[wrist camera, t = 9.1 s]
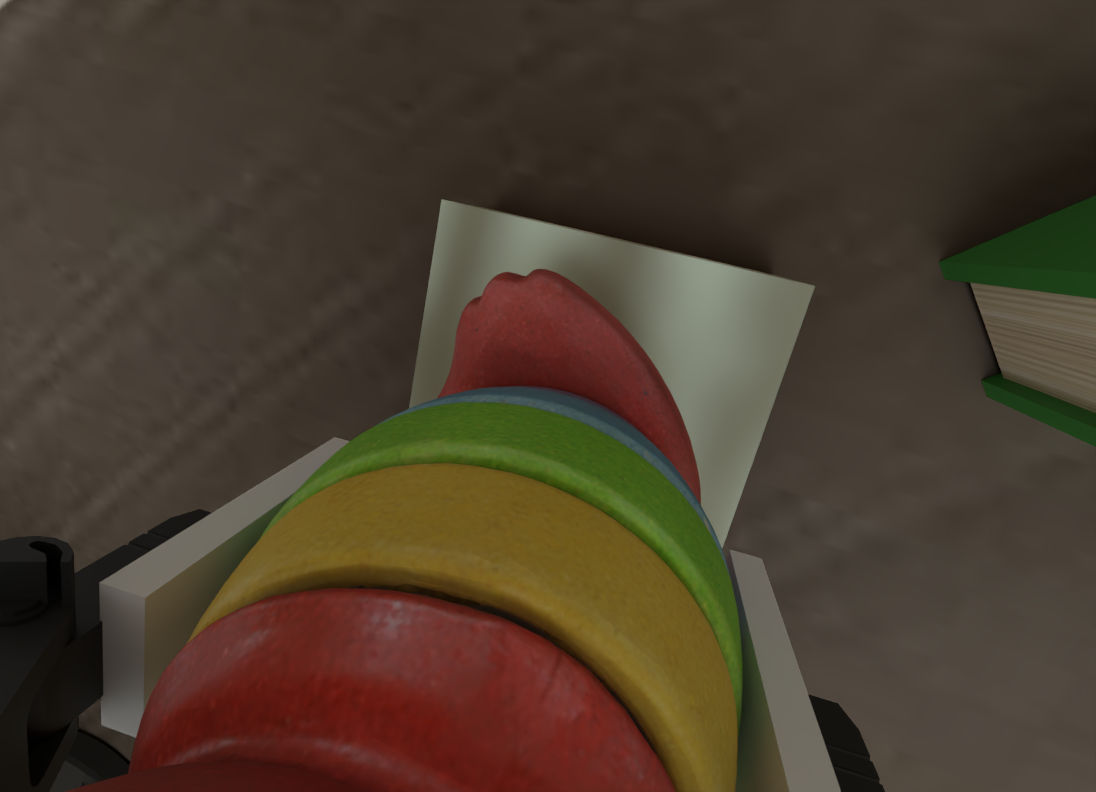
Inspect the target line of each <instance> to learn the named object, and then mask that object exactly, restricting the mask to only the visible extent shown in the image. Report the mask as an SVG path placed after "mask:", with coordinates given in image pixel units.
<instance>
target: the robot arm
mask: <svg viewBox="0 0 1096 792" xmlns="http://www.w3.org/2000/svg"><path fill="white" fill-rule="evenodd" d="M348 442H350V441H347V440H343V439H340V438H336V437H334V438H333V439H331V440H329V441H328V442H326V443H324V444H323V445H321V446H320V447H318V448H316V449H315V450H313V451H311V452H310V453H308V454H307V455H305V456H303V457H302V458H300V459H299V460H297V461H295V462H294V463H292V464H290V465H289V466H287V467H286V468H284V469H282V470H281V471H279V472H278V473H276V474H274V475H273V476H271V477H269V478H268V479H266V480H265V481H263V482H261V483H260V484H258V485H256V486H255V487H253V488H252V489H250V490H248V491H247V492H245V493H244V494H242V495H240V496H239V497H237V498H235V499H234V500H232V501H231V502H229V503H227V504H226V505H224V506H223V507H221V508H219V509H218V510H216V511H214V512H213V513H211V512H207V511H204V510H201V509H199V510H195V511H192V512H189V513H185V514H182V515H179V516H175V517H172V518H170V519H168V520H166V521H165V522H163V523H161V524H160V525H158V526H156V527H154V528H153V529H151V530H149V531H148V533H147V534H142V535H140V536H139V537H137V538H135V539H133V540H132V541H130V542H129V544H128V545H123V546H121V547H120V548H118V549H116V550H114V551H113V552H111V553H109V554H107V555H106V556H104V557H102V558H100V559H99V560H97V561H95V562H94V563H92V564H90V565H88V566H87V567H85V568H83V569H81V570H80V571H78V572H76V573H74V552H73V550H72V548H71V547H70V545H69V544H68V543H66V542H64V541H61V540H59V539H57V538H50V537H41V536H31V537H16V538H11V539H6V540H2V541H0V792H65V791H68V790H72V789H75V788H79V787H83V786H86V785H90V784H93V783H97V782H100V781H104V780H107V779H111V778H114V777H118V776H122V775H125V774H128V771H129V765H128V764H127V763H126V762H125V761H124V760H123V759H122V758H121V757H120V756H118V755H117V754H116V753H115V752H114V751H112V750H111V749H110V748H108V747H107V746H105V745H104V744H102V743H101V742H99V741H97V740H96V739H94V738H92V737H90V736H88V735H86V734H83V733H81V732H78V727H79V715H80V714H81V713H82V712H83V711H85V710H86V709H87V708H88V707H90V706H91V705H92V704H93V703H94V702H96V701H97V700H98V699H99V698H100V697H101V725H102V726H105V727H108V728H111V729H113V730H116V731H119V732H122V733H124V734H127V735H130V736H133V737H136V736H137V732H138V729H139V725H140V722H141V718H142V715H143V713H144V710H145V708H146V705H147V703H148V700H149V698H150V695H151V693H152V691H153V689H154V688H155V686H156V684H157V682H158V680H159V678H160V677H161V675H162V673H163V672H164V670H165V669H166V668H167V666H168V665H169V663H170V662H171V661H172V660H173V659H174V657H175V656H176V655H177V654H178V653H179V652H180V650H181V649H182V648H183V647H184V646H185V645H186V644H187V642H188V640H189V639H190V637H191V635H192V633H193V631H194V630H195V628H196V626H197V624H198V622H199V621H200V619H201V618H202V616H203V615H204V613H205V612H206V610H207V609H208V607H209V606H210V604H211V603H212V601H213V600H214V598H215V597H216V595H217V594H218V592H219V591H220V589H221V588H222V586H223V585H224V583H225V582H226V581H227V580H228V578H229V577H230V576H231V574H232V573H233V572H234V570H235V569H236V568H237V567H238V565H239V564H240V563H241V561H242V560H243V559H244V557H245V556H246V555H247V554H248V552H249V551H250V550H251V549H252V548H253V547H254V546H255V544H256V543H257V542H258V541H259V539H260V537H261V535H262V534H263V532H264V531H265V529H266V528H267V526H268V525H269V523H270V522H271V520H272V519H273V518H274V517H275V515H276V514H277V513H278V512H279V510H280V509H281V508H282V507H283V505H284V504H285V503H286V502H287V501H288V500H289V499H290V498H291V496H292V495H293V494H294V493H295V492H296V491H297V490H298V489H299V488H300V487H301V486H302V485H303V484H304V482H305V481H306V480H307V479H308V478H309V477H310V476H311V475H312V474H313V473H314V472H315V471H316V470H317V469H318V468H319V467H321V466H322V465H323V464H324V463H325V462H326V461H327V460H328V459H329V458H330V457H331V456H333V455H334V454H335V453H336V452H337V451H338V450H340V449H341V448H342V447H343V446H345V445H346V444H347V443H348ZM726 564H727V567H728V571H729V574H730V579H731V582H732V587H733V591H734V596H735V600H736V605H737V609H738V618H739V626H740V635H741V649H742V663H743V690H742V715H741V723H740V730H739V736H738V753H737V778H736V788H735V792H885V791H884V788H883V786H882V785H881V784H879V780H880V779H879V776H878V774H877V772H876V769H875V767H874V764H873V762H871V761H870V755H869V753H868V750H867V748H866V745H865V743H864V741H863V738H862V736H861V734H860V731H859V729H858V728H857V727H856V726H855V724H854V723H853V722H852V721H851V719H850V718H849V717H848V716H847V714H846V713H845V712H844V711H843V709H842V708H841V707H840V705H839V704H838V703H835V702H831V701H828V700H825V699H822V698H818V697H815V696H812V695H809V694H808V693H807V690H806V687H805V684H804V681H803V678H802V675H801V672H800V670H799V667H798V664H797V661H796V658H795V655H794V652H793V649H792V646H791V643H790V640H789V637H788V634H787V631H786V628H785V626H784V623H783V620H782V617H781V614H780V611H779V608H778V605H777V602H776V599H775V596H774V593H773V590H772V587H771V585H770V582H769V579H768V576H767V573H766V570H765V567H764V564H763V561H762V559H761V558H758V557H754V556H751V555H747V554H744V553H740V552H737V551H733V550H729V553H728V555H727V558H726Z"/></svg>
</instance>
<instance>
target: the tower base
mask: <svg viewBox="0 0 1096 792" xmlns="http://www.w3.org/2000/svg"><path fill="white" fill-rule="evenodd" d="M536 269H547V270H550V271H553V272H556V273H558V274H560V275H562V276H564V277H566V278H567V279H569V280H570V281H572V282H573V283H575V284H576V285H578V286H579V287H581V288H582V289H583V290H584V291H586V292H587V293H588V294H589V295H591V296H592V297H593V298H594V299H595V300H597V301H598V302H599V303H600V304H601V305H602V306H603V307H605V308H606V309H607V310H608V311H609V312H610V313H611V314H612V315H613V316H614V317H616V318H617V319H618V320H619V321H620V322H621V324H622V325H623V326H624V327H625V328H626V329H627V330H628V332H629V333H630V334H631V335H632V336H633V337H634V338H635V340H636V341H637V342H638V343H639V345H640V346H641V347H642V348H643V350H644V351H645V352H646V354H647V355H648V356H649V358H650V359H651V361H652V362H653V364H654V365H655V367H656V368H657V370H658V371H659V373H660V375H661V376H662V378H663V380H664V382H665V383H666V385H667V387H668V389H669V390H670V392H671V394H672V396H673V398H674V400H675V402H676V405H677V407H678V409H679V411H680V413H681V416H682V419H683V421H684V424H685V427H686V429H687V432H688V434H689V437H690V440H691V444H692V448H693V452H694V455H695V459H696V463H697V468H698V473H699V479H700V487H701V507H702V508H703V510H704V512H705V514H706V516H707V518H708V519H709V521H710V523H711V525H712V527H713V529H714V531H715V533H716V536H717V538H718V540H719V543H720V545H721V548H723V545H724V542H725V539H726V536H727V534H728V531H729V528H730V525H731V522H732V519H733V517H734V514H735V511H736V508H737V505H738V503H739V500H740V497H741V494H742V491H743V488H744V486H745V483H746V480H747V477H748V474H749V471H750V469H751V466H752V463H753V460H754V457H755V455H756V452H757V449H758V446H759V443H760V440H761V438H762V435H763V432H764V429H765V426H766V423H767V421H768V418H769V415H770V412H771V409H772V407H773V404H774V401H775V398H776V395H777V392H778V390H779V387H780V384H781V381H782V378H783V375H784V373H785V370H786V367H787V364H788V361H789V359H790V356H791V353H792V350H793V347H794V344H795V342H796V339H797V336H798V333H799V330H800V327H801V325H802V322H803V319H804V316H805V313H806V311H807V308H808V305H809V302H810V299H811V296H812V294H813V291H814V288H815V286H814V285H810V284H806V283H802V282H799V281H795V280H791V279H788V278H784V277H780V276H777V275H773V274H769V273H764V272H760V271H756V270H751V269H747V268H743V267H738V266H734V265H730V264H726V263H721V262H717V261H713V260H708V259H704V258H700V257H695V256H691V255H687V254H682V253H678V252H674V251H669V250H665V249H661V248H656V247H652V246H648V245H644V244H639V243H635V242H631V241H626V240H622V239H618V238H613V237H609V236H605V235H600V234H596V233H592V232H587V231H583V230H579V229H575V228H570V227H566V226H562V225H557V224H553V223H549V222H544V221H540V220H536V219H531V218H527V217H523V216H518V215H514V214H510V213H505V212H501V211H497V210H492V209H487V208H482V207H478V206H473V205H468V204H463V203H458V202H453V201H448V200H443V199H442V201H441V207H440V213H439V220H438V226H437V232H436V239H435V245H434V252H433V258H432V264H431V271H430V277H429V283H428V290H427V296H426V303H425V309H424V315H423V322H422V328H421V334H420V341H419V347H418V354H417V360H416V366H415V373H414V379H413V385H412V392H411V398H410V405H409V408H412V407H414V406H417V405H420V404H422V403H425V402H428V401H431V400H434V399H437V397H438V396H439V394H440V392H441V390H442V389H443V387H444V385H445V382H446V380H447V377H448V375H449V372H450V369H451V365H452V360H453V354H454V349H455V338H456V331H457V327H458V324H459V320H460V317H461V314H462V312H463V310H464V308H465V307H466V305H467V304H468V303H469V302H470V301H471V300H473V299H474V298H476V297H479V296H482V294H483V291H484V289H485V287H486V286H487V284H488V283H489V282H490V281H491V279H492V278H493V277H495V276H496V275H498V274H500V273H503V272H511V273H516V274H519V275H522V276H527V275H528V274H529V273H531V272H532V271H533V270H536Z"/></svg>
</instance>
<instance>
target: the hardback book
mask: <svg viewBox="0 0 1096 792" xmlns="http://www.w3.org/2000/svg"><path fill="white" fill-rule="evenodd" d="M939 264H940V267H941V269H942V272H943V275H944V278H945V279H946V280H954V281H961V282H969V283H970V284H971V287H972V290H973V293H974V295H975V298H976V301H977V304H978V307H979V310H980V313H981V315H982V318H983V321H984V324H985V327H986V330H987V332H988V335H989V338H990V341H991V344H992V347H993V350H994V352H995V355H996V358H997V361H998V364H999V367H1000V369H1001V372H1002V373H1000V374H997V375H994V376H992V377H989V378H986V379H983V380H981V381H982V384H983V387H984V389H985V392H986V395H987V397H989V398H991V399H994V400H996V401H998V402H1000V403H1002V404H1004V405H1006V406H1009V407H1011V408H1013V409H1015V410H1017V411H1019V412H1022V413H1024V414H1026V415H1028V416H1030V417H1032V418H1035V419H1037V420H1039V421H1041V422H1043V423H1045V424H1048V425H1050V426H1052V427H1054V428H1056V429H1058V430H1061V431H1063V432H1065V433H1067V434H1069V435H1071V436H1074V437H1076V438H1078V439H1080V440H1082V441H1084V442H1087V443H1089V444H1091V445H1093V446H1095V447H1096V195H1095V196H1093V197H1090V198H1088V199H1086V200H1083V201H1081V202H1079V203H1076V204H1074V205H1072V206H1069V207H1067V208H1064V209H1062V210H1060V211H1057V212H1055V213H1053V214H1050V215H1048V216H1046V217H1043V218H1041V219H1039V220H1036V221H1034V222H1032V223H1029V224H1027V225H1025V226H1022V227H1020V228H1017V229H1015V230H1013V231H1010V232H1008V233H1006V234H1003V235H1001V236H999V237H996V238H994V239H992V240H989V241H987V242H985V243H982V244H980V245H977V246H975V247H973V248H970V249H968V250H966V251H963V252H961V253H959V254H956V255H954V256H952V257H949V258H947V259H945V260H942V261H940V262H939Z"/></svg>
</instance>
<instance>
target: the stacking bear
mask: <svg viewBox="0 0 1096 792" xmlns="http://www.w3.org/2000/svg"><path fill="white" fill-rule="evenodd" d="M742 690H743V663H742V649H741V635H740V626H739V618H738V609H737V605H736V600H735V596H734V591H733V587H732V582H731V579H730V574H729V571H728V567H727V564H726V560H725V557H724V553H723V550H722V548H721V545H720V543H719V540H718V538H717V536H716V533H715V531H714V529H713V527H712V525H711V523H710V521H709V519H708V518H707V516H706V514H705V512H704V510H703V508H702V507H701V487H700V479H699V473H698V468H697V463H696V459H695V455H694V452H693V448H692V444H691V440H690V437H689V434H688V432H687V429H686V427H685V424H684V421H683V419H682V416H681V413H680V411H679V409H678V407H677V405H676V402H675V400H674V398H673V396H672V394H671V392H670V390H669V389H668V387H667V385H666V383H665V382H664V380H663V378H662V376H661V375H660V373H659V371H658V370H657V368H656V367H655V365H654V364H653V362H652V361H651V359H650V358H649V356H648V355H647V354H646V352H645V351H644V350H643V348H642V347H641V346H640V345H639V343H638V342H637V341H636V340H635V338H634V337H633V336H632V335H631V334H630V333H629V332H628V330H627V329H626V328H625V327H624V326H623V325H622V324H621V322H620V321H619V320H618V319H617V318H616V317H614V316H613V315H612V314H611V313H610V312H609V311H608V310H607V309H606V308H605V307H603V306H602V305H601V304H600V303H599V302H598V301H597V300H595V299H594V298H593V297H592V296H591V295H589V294H588V293H587V292H586V291H584V290H583V289H582V288H581V287H579V286H578V285H576V284H575V283H573V282H572V281H570V280H569V279H567V278H566V277H564V276H562V275H560V274H558V273H556V272H553V271H550V270H547V269H536V270H533V271H532V272H531V273H529V274H528V275H527V276H522V275H519V274H516V273H511V272H503V273H500V274H498V275H496V276H495V277H493V278H492V279H491V281H490V282H489V283H488V284H487V286H486V287H485V289H484V291H483V294H482V296H479V297H476V298H474V299H473V300H471V301H470V302H469V303H468V304H467V305H466V307H465V308H464V310H463V312H462V314H461V317H460V320H459V324H458V327H457V331H456V338H455V349H454V354H453V360H452V365H451V369H450V372H449V375H448V377H447V380H446V382H445V385H444V387H443V389H442V390H441V392H440V394H439V396H438V397H437V399H434V400H431V401H428V402H425V403H422V404H420V405H417V406H414V407H412V408H409V409H407V410H405V411H403V412H401V413H398V414H396V415H394V416H392V417H390V418H388V419H386V420H384V421H383V422H381V423H379V424H377V425H376V426H374V427H373V428H371V429H369V430H367V431H365V432H363V433H362V434H360V435H359V436H357V437H356V438H354V439H353V440H351V441H350V442H348V443H347V444H346V445H345V446H343V447H342V448H341V449H340V450H338V451H337V452H336V453H335V454H334V455H333V456H331V457H330V458H329V459H328V460H327V461H326V462H325V463H324V464H323V465H322V466H321V467H319V468H318V469H317V470H316V471H315V472H314V473H313V474H312V475H311V476H310V477H309V478H308V479H307V480H306V481H305V482H304V484H303V485H302V486H301V487H300V488H299V489H298V490H297V491H296V492H295V493H294V494H293V495H292V496H291V498H290V499H289V500H288V501H287V502H286V503H285V504H284V505H283V507H282V508H281V509H280V510H279V512H278V513H277V514H276V515H275V517H274V518H273V519H272V520H271V522H270V523H269V525H268V526H267V528H266V529H265V531H264V532H263V534H262V535H261V537H260V539H259V541H258V542H257V543H256V544H255V546H254V547H253V548H252V549H251V550H250V551H249V552H248V554H247V555H246V556H245V557H244V559H243V560H242V561H241V563H240V564H239V565H238V567H237V568H236V569H235V570H234V572H233V573H232V574H231V576H230V577H229V578H228V580H227V581H226V582H225V583H224V585H223V586H222V588H221V589H220V591H219V592H218V594H217V595H216V597H215V598H214V600H213V601H212V603H211V604H210V606H209V607H208V609H207V610H206V612H205V613H204V615H203V616H202V618H201V619H200V621H199V622H198V624H197V626H196V628H195V630H194V631H193V633H192V635H191V637H190V639H189V640H188V642H187V644H186V645H185V646H184V647H183V648H182V649H181V650H180V652H179V653H178V654H177V655H176V656H175V657H174V659H173V660H172V661H171V662H170V663H169V665H168V666H167V668H166V669H165V670H164V672H163V673H162V675H161V677H160V678H159V680H158V682H157V684H156V686H155V688H154V689H153V691H152V693H151V695H150V698H149V700H148V703H147V705H146V708H145V710H144V713H143V715H142V718H141V722H140V725H139V729H138V732H137V736H136V740H135V744H134V748H133V752H132V757H131V761H130V766H129V771H128V774H125V775H122V776H118V777H114V778H111V779H107V780H104V781H100V782H97V783H93V784H90V785H86V786H83V787H79V788H75V789H72V790H68V791H65V792H735V788H736V778H737V753H738V736H739V730H740V723H741V715H742Z"/></svg>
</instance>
